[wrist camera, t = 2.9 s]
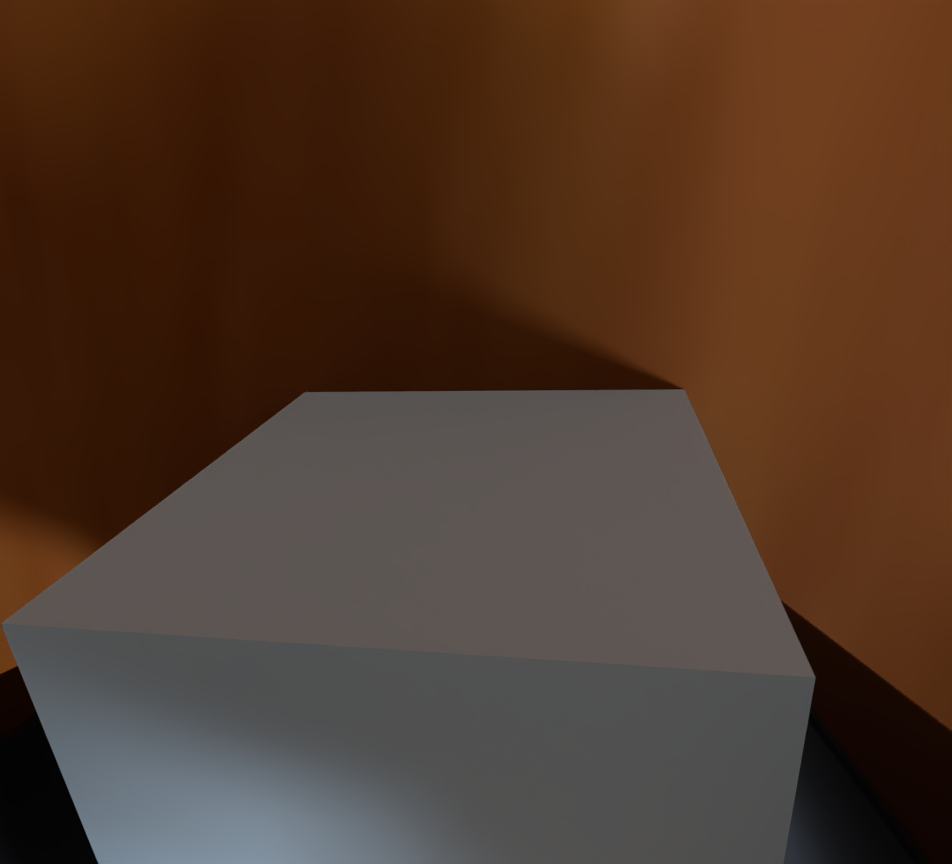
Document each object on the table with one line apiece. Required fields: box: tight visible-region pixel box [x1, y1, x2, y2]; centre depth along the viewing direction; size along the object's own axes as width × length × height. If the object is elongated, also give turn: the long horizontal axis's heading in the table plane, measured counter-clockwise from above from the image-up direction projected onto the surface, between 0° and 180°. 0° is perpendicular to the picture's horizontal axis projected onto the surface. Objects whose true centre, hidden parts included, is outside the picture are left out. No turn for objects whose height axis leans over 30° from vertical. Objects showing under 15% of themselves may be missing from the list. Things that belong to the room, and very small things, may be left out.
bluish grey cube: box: [1, 389, 816, 864], centre depth 7 cm, size 5×5×5 cm
